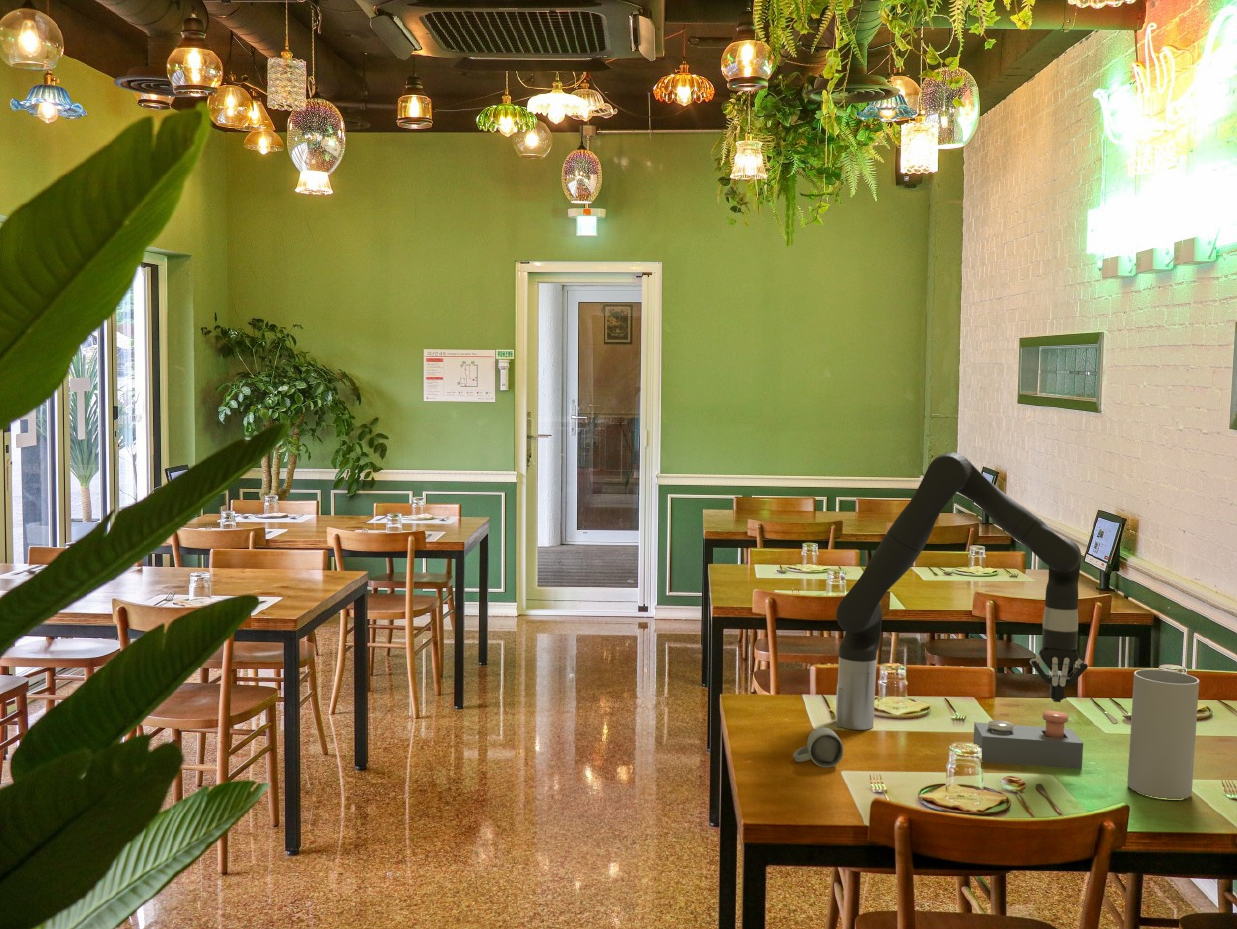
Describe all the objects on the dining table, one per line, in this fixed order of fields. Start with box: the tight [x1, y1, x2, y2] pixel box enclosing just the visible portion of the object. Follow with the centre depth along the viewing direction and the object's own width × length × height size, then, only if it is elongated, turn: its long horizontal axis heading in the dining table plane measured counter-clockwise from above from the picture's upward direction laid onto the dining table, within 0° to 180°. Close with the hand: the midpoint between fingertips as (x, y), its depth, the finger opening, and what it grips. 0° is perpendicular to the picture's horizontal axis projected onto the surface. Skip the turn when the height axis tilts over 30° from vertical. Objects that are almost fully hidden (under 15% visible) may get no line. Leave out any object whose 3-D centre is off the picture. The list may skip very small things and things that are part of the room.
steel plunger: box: [987, 719, 1015, 734], centre depth 266 cm, size 6×6×6 cm
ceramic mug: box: [792, 726, 844, 769], centre depth 258 cm, size 11×8×8 cm
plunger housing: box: [973, 721, 1084, 770], centre depth 265 cm, size 22×11×6 cm, turn 82°
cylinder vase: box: [1127, 668, 1200, 799], centre depth 244 cm, size 12×12×25 cm
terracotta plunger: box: [1041, 710, 1070, 738], centre depth 264 cm, size 6×6×6 cm
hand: (1056, 701), depth 264 cm, fingers closed
